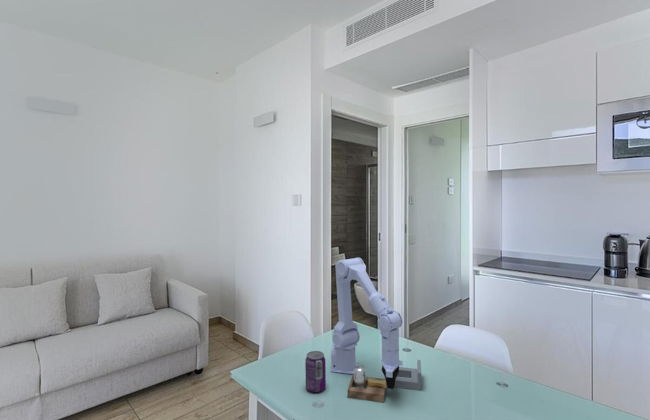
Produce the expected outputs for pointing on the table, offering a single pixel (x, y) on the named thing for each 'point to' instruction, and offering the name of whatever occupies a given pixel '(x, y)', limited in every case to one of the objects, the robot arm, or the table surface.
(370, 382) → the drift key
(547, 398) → the table surface
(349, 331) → the robot arm
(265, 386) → the table surface
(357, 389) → the socket block
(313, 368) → the beverage can
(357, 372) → the steel peg
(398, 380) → the grey square frame
